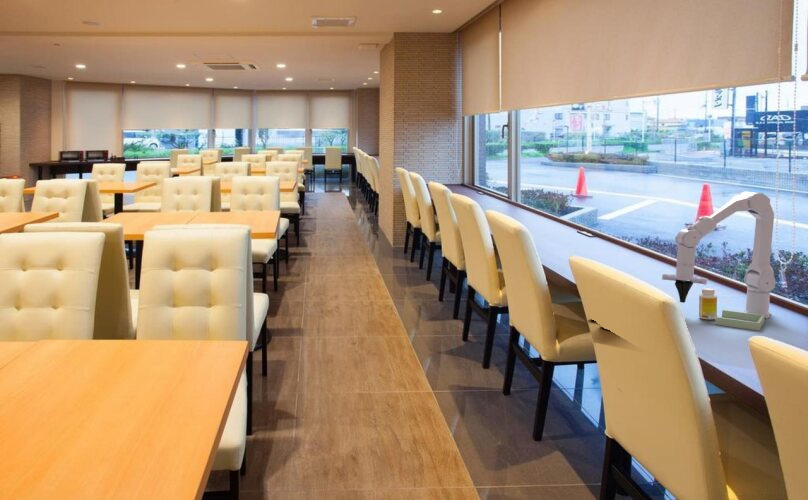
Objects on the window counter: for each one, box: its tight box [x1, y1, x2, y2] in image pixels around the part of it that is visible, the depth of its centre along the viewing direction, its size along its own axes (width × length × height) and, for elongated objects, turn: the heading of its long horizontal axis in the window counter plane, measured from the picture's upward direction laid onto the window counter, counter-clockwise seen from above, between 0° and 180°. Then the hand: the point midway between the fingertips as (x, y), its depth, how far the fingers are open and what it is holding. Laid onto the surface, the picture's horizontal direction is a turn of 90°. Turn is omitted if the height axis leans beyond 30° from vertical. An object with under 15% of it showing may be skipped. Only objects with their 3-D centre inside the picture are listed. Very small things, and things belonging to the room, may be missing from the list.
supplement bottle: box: [698, 287, 718, 320], centre depth 225 cm, size 6×6×10 cm
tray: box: [714, 309, 766, 332], centre depth 220 cm, size 13×13×2 cm
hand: (682, 301), depth 230 cm, fingers closed
